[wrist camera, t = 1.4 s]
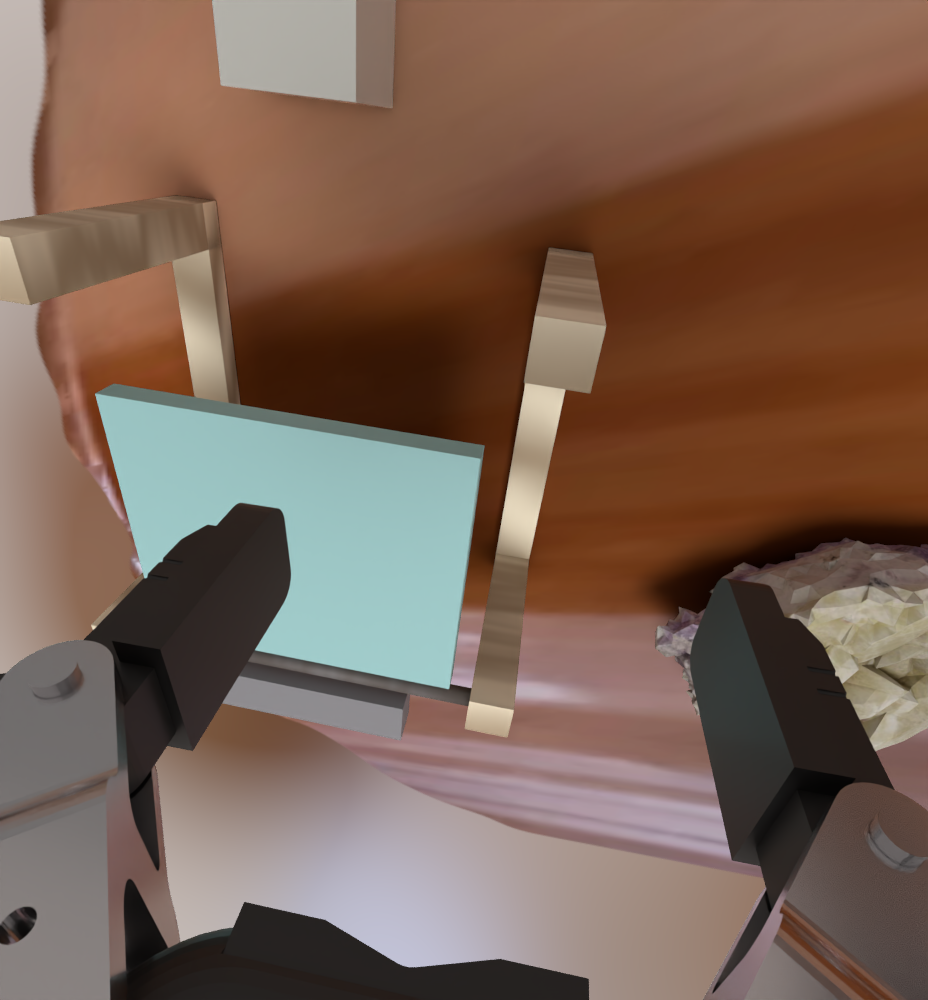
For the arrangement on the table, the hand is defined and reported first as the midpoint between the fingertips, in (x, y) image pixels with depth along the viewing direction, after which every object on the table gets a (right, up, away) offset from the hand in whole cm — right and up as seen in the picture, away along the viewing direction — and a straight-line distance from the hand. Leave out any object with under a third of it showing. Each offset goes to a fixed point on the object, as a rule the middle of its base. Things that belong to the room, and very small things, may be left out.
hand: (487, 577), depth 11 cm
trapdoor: (-7, -2, +15) cm, 17 cm away
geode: (+20, -5, +24) cm, 32 cm away
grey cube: (-6, +21, +12) cm, 25 cm away
